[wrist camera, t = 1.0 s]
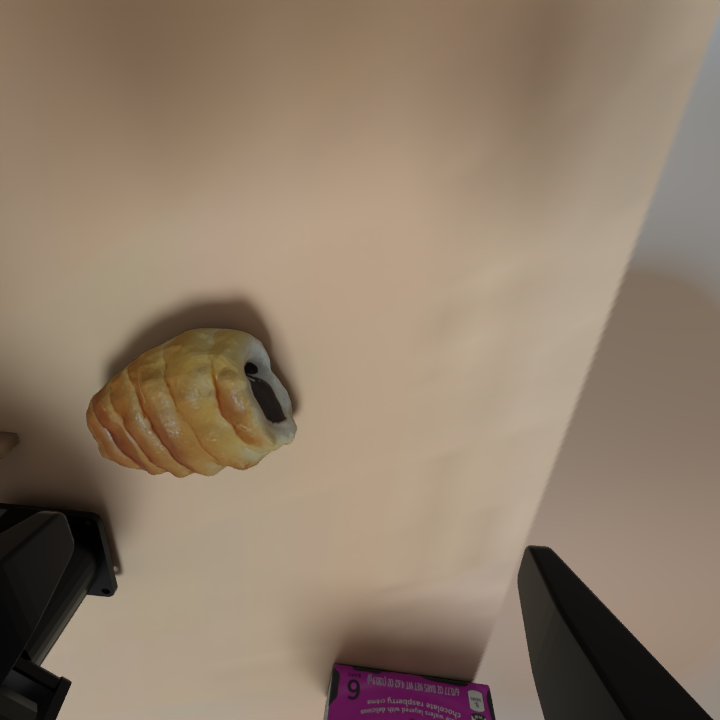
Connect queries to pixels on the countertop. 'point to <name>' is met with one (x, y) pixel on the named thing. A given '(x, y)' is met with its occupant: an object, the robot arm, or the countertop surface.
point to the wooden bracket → (7, 442)
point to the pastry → (193, 406)
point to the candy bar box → (403, 697)
